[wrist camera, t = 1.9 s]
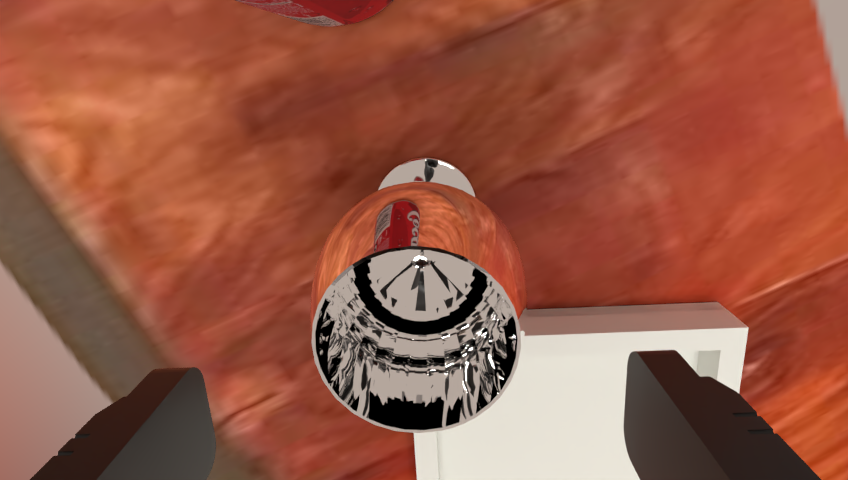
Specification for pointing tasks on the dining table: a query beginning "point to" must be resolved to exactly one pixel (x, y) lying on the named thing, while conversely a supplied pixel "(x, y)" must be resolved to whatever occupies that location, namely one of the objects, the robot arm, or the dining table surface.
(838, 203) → the dining table surface
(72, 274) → the dining table surface
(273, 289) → the dining table surface
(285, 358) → the dining table surface
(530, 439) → the tray
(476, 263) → the wineglass
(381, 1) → the soda can
